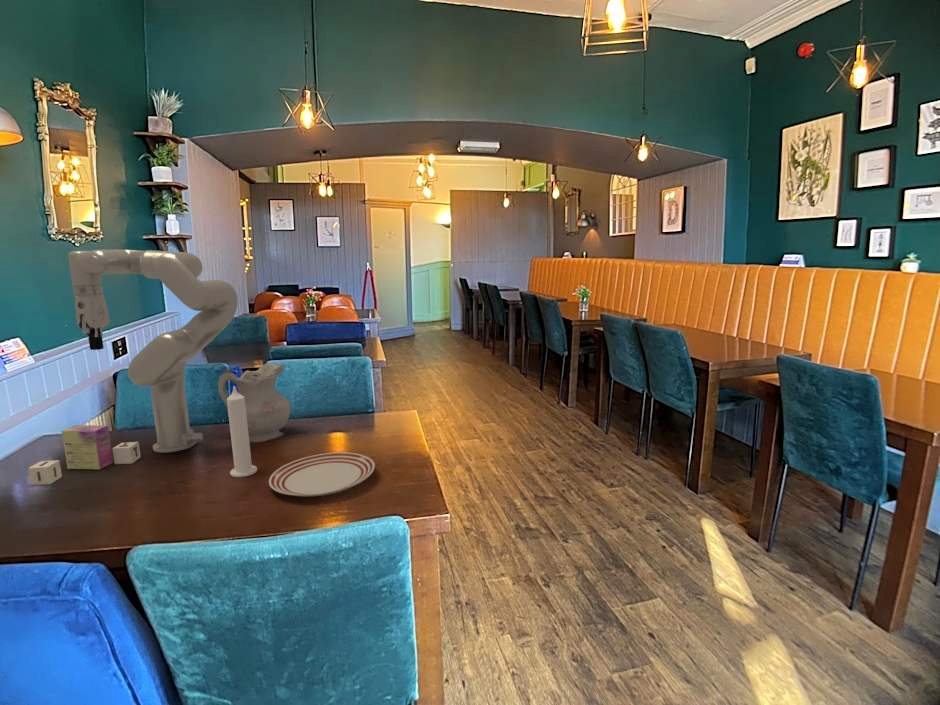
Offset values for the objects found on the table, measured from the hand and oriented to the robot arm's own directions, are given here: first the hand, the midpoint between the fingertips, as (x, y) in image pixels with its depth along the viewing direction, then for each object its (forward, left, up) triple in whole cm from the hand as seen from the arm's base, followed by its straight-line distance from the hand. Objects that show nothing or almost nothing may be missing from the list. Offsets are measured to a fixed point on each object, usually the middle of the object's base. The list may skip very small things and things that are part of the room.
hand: (97, 349), depth 176 cm
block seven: (-13, +15, -32) cm, 38 cm away
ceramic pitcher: (-47, -1, -32) cm, 57 cm away
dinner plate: (-76, +38, -33) cm, 91 cm away
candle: (-52, +29, -32) cm, 68 cm away
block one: (+2, +28, -32) cm, 43 cm away
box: (-4, +18, -32) cm, 37 cm away
